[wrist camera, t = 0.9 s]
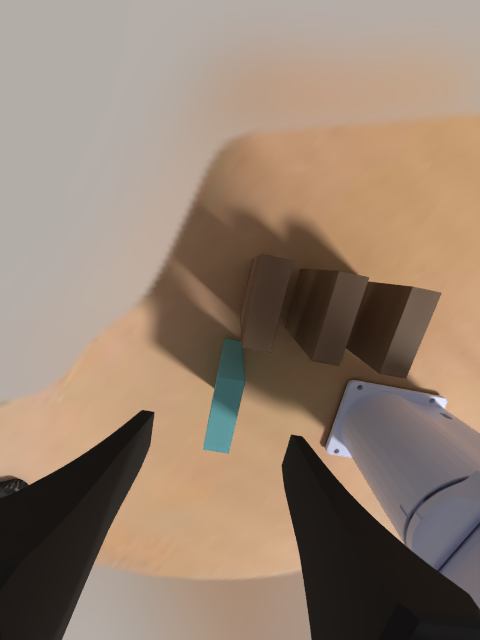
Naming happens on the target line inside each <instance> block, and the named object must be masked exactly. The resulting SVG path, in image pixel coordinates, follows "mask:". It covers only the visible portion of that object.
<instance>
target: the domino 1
mask: <svg viewBox="0 0 480 640" xmlns="http://www.w3.org/2000/svg"><path fill="white" fill-rule="evenodd" d="M293 262H294V261H291V260H286V259H282V258H277V257H272V256H268V255H263V254H262V255H260V256H258V257H256V258H254V259H253V260H252V265H251V270H250V274H249V279H248V284H247V289H246V293H245V298H244V303H243V308H242V312H241V317H240V322H241V338H242V348H247V349H252V350H257V351H263V352H268V353H271V349H272V345H273V341H274V337H275V333H276V329H277V325H278V321H279V317H280V313H281V309H282V305H283V301H284V297H285V293H286V289H287V286H288V282H289V278H290V274H291V270H292V266H293Z"/></svg>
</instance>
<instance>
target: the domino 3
mask: <svg viewBox="0 0 480 640" xmlns="http://www.w3.org/2000/svg"><path fill="white" fill-rule="evenodd" d="M440 296H441V293H440V292H435V291H430V290H426V289H421V288H416V287H411V286H402V285H394V284H385V283H376V282H368V283H367V286H366V289H365V291H364V294H363V297H362V300H361V303H360V306H359V309H358V312H357V315H356V318H355V321H354V324H353V327H352V330H351V333H350V336H349V339H348V342H347V345H346V349H348V350H349V351H350V352H352V353H353V354H354V355H356V356H357V357H358V358H360V359H361V360H362V361H364V362H365V363H366V364H368V365H369V366H370V367H372V368H373V369H374V370H376V371H377V372H378V373H380V374H385V375H390V376H395V377H401V378H406V377H407V375H408V372H409V370H410V368H411V365H412V363H413V360H414V358H415V356H416V353H417V351H418V348H419V346H420V344H421V341H422V339H423V336H424V334H425V332H426V329H427V327H428V324H429V322H430V320H431V317H432V315H433V312H434V310H435V308H436V305H437V303H438V300H439V298H440Z"/></svg>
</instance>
